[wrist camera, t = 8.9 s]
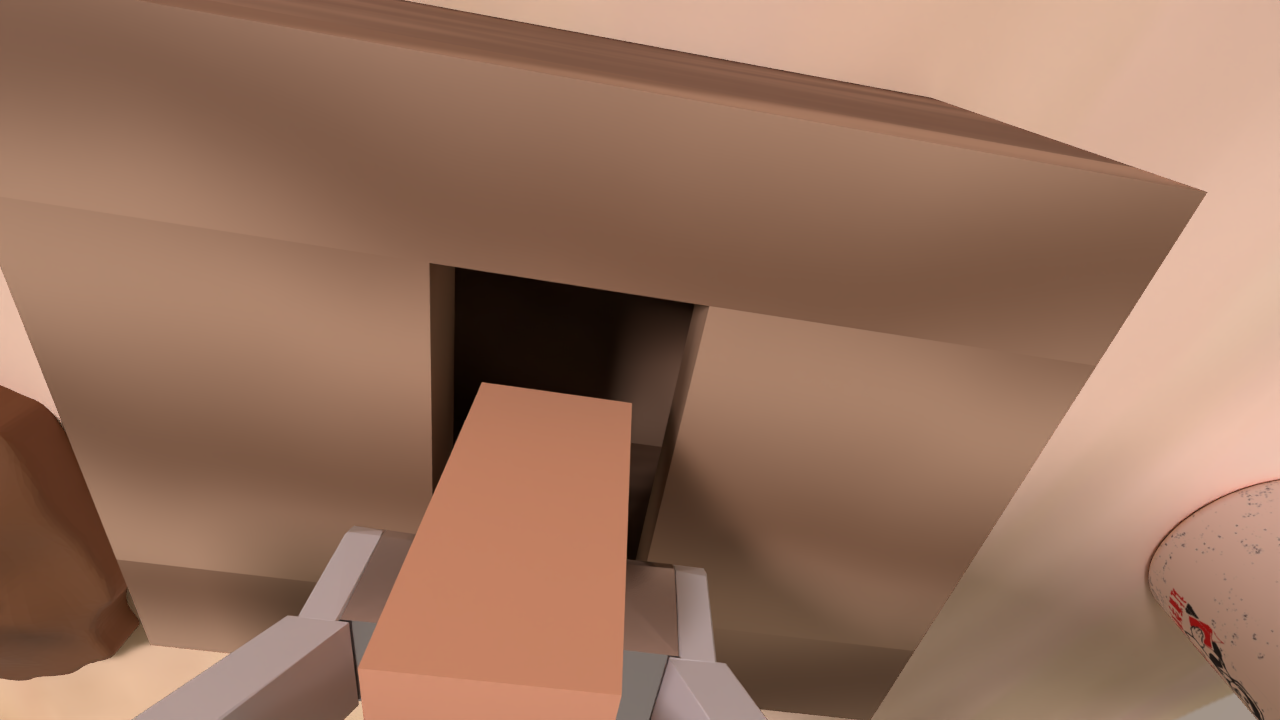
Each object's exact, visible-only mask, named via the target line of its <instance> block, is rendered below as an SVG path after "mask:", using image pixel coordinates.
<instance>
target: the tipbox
mask: <svg viewBox="0 0 1280 720" xmlns="http://www.w3.org/2000/svg"><path fill="white" fill-rule="evenodd" d="M1206 193H1207V192H1205V191H1202V190H1199V189H1196V188H1193V187H1191V186H1188V185H1185V184H1182V183H1179V182H1176V181H1173V180H1170V179H1167V178H1164V177H1161V176H1158V175H1155V174H1153V173H1150V172H1147V171H1144V170H1141V169H1138V168H1135V167H1132V166H1129V165H1126V164H1123V163H1120V162H1117V161H1114V160H1112V159H1109V158H1106V157H1103V156H1100V155H1097V154H1094V153H1091V152H1088V151H1085V150H1082V149H1079V148H1076V147H1074V146H1071V145H1068V144H1065V143H1062V142H1059V141H1056V140H1053V139H1050V138H1047V137H1044V136H1041V135H1038V134H1036V133H1033V132H1030V131H1027V130H1024V129H1021V128H1018V127H1015V126H1012V125H1009V124H1006V123H1003V122H1000V121H998V120H995V119H992V118H989V117H986V116H983V115H980V114H977V113H974V112H971V111H968V110H965V109H962V108H959V107H957V106H954V105H951V104H948V103H945V102H942V101H939V100H936V99H933V98H929V97H924V96H918V95H913V94H907V93H902V92H897V91H891V90H886V89H880V88H875V87H870V86H864V85H859V84H853V83H848V82H843V81H837V80H832V79H826V78H821V77H816V76H810V75H805V74H799V73H794V72H788V71H783V70H778V69H772V68H767V67H761V66H756V65H751V64H745V63H740V62H734V61H729V60H724V59H718V58H713V57H707V56H702V55H697V54H691V53H686V52H680V51H675V50H670V49H664V48H659V47H653V46H648V45H643V44H637V43H632V42H626V41H621V40H616V39H610V38H605V37H599V36H594V35H588V34H583V33H578V32H572V31H567V30H561V29H556V28H551V27H545V26H540V25H534V24H529V23H524V22H518V21H513V20H507V19H502V18H497V17H491V16H486V15H480V14H475V13H470V12H464V11H459V10H453V9H448V8H443V7H437V6H432V5H426V4H421V3H415V2H410V1H405V0H0V267H1V269H2V272H3V274H4V277H5V279H6V282H7V284H8V287H9V290H10V292H11V295H12V297H13V300H14V302H15V305H16V307H17V310H18V312H19V315H20V317H21V320H22V322H23V325H24V327H25V330H26V332H27V335H28V337H29V340H30V343H31V345H32V348H33V350H34V353H35V355H36V358H37V360H38V363H39V365H40V368H41V370H42V373H43V375H44V378H45V380H46V383H47V385H48V388H49V390H50V393H51V396H52V398H53V401H54V403H55V406H56V408H57V411H58V413H59V416H60V418H61V421H62V423H63V426H64V428H65V431H66V433H67V436H68V438H69V441H70V443H71V446H72V449H73V451H74V454H75V456H76V459H77V461H78V464H79V466H80V469H81V471H82V474H83V476H84V479H85V481H86V484H87V486H88V489H89V491H90V494H91V496H92V499H93V502H94V504H95V507H96V509H97V512H98V514H99V517H100V519H101V522H102V524H103V527H104V529H105V532H106V534H107V537H108V539H109V542H110V544H111V547H112V549H113V552H114V555H115V557H116V560H117V562H118V565H119V567H120V570H121V572H122V575H123V577H124V580H125V582H126V585H127V587H128V590H129V592H130V595H131V597H132V600H133V602H134V605H135V608H136V610H137V613H138V615H139V618H140V620H141V623H142V625H143V628H144V630H145V633H146V635H147V638H148V640H149V643H150V645H156V646H165V647H175V648H184V649H194V650H203V651H213V652H222V653H232V652H233V651H235V650H236V649H238V648H239V647H241V646H242V645H244V644H245V643H247V642H248V641H250V640H251V639H253V638H254V637H256V636H257V635H259V634H260V633H262V632H263V631H265V630H266V629H268V628H269V627H271V626H272V625H274V624H275V623H277V622H278V621H280V620H281V619H283V618H284V617H286V616H287V615H289V616H298V615H299V614H300V612H301V610H302V608H303V607H304V605H305V603H306V601H307V600H308V598H309V596H310V594H311V593H312V591H313V589H314V587H315V586H316V584H317V582H318V580H319V579H320V577H321V575H322V573H323V572H324V570H325V568H326V566H327V565H328V563H329V561H330V559H331V558H332V556H333V554H334V552H335V551H336V549H337V547H338V545H339V544H340V542H341V540H342V538H343V537H344V535H345V533H347V532H348V531H349V530H350V529H351V528H352V527H353V526H360V527H367V528H375V529H382V530H391V531H398V532H405V533H412V534H416V533H417V531H418V528H419V526H420V524H421V521H422V519H423V517H424V514H425V512H426V510H427V508H428V505H429V503H430V501H431V498H432V496H433V494H434V491H435V489H436V487H437V485H438V482H439V480H440V478H441V475H442V473H443V471H444V468H445V466H446V464H447V462H448V459H449V457H450V455H451V452H452V450H453V448H454V445H455V443H456V441H457V439H458V436H459V434H460V432H461V429H462V427H463V425H464V422H465V420H466V418H467V416H468V413H469V411H470V409H471V406H472V404H473V402H474V399H475V397H476V395H477V392H478V390H479V388H480V386H481V383H482V382H484V383H491V384H499V385H506V386H513V387H520V388H527V389H535V390H542V391H549V392H556V393H563V394H570V395H578V396H585V397H592V398H599V399H606V400H614V401H621V402H628V403H632V417H631V446H630V474H629V502H628V530H627V558H626V559H629V560H638V561H647V562H657V563H666V564H672V566H673V565H680V566H688V567H697V568H704V570H705V572H706V573H707V580H708V589H709V598H710V607H711V616H712V625H713V634H714V643H715V652H716V661H717V662H720V663H726V664H727V665H728V667H729V668H730V669H731V671H732V672H733V674H734V675H735V676H736V678H737V679H738V680H739V682H740V683H741V684H742V686H743V687H744V689H745V690H746V691H747V693H748V694H749V695H750V697H751V698H752V699H753V701H754V702H755V703H756V705H757V706H758V708H759V709H763V710H772V711H782V712H791V713H801V714H810V715H820V716H829V717H839V718H848V719H858V720H871V718H872V717H873V715H874V713H875V712H876V710H877V709H878V707H879V706H880V704H881V703H882V701H883V699H884V698H885V696H886V695H887V693H888V692H889V690H890V688H891V687H892V685H893V684H894V682H895V681H896V679H897V677H898V676H899V674H900V673H901V671H902V670H903V668H904V666H905V665H906V663H907V662H908V660H909V659H910V657H911V656H912V654H913V652H914V651H915V649H916V648H917V646H918V645H919V643H920V641H921V640H922V638H923V637H924V635H925V634H926V632H927V630H928V629H929V627H930V626H931V624H932V623H933V621H934V619H935V618H936V616H937V615H938V613H939V612H940V610H941V609H942V607H943V605H944V604H945V602H946V601H947V599H948V598H949V596H950V594H951V593H952V591H953V590H954V588H955V587H956V585H957V583H958V582H959V580H960V579H961V577H962V576H963V574H964V572H965V571H966V569H967V568H968V566H969V565H970V563H971V562H972V560H973V558H974V557H975V555H976V554H977V552H978V551H979V549H980V547H981V546H982V544H983V543H984V541H985V540H986V538H987V536H988V535H989V533H990V532H991V530H992V529H993V527H994V526H995V524H996V522H997V521H998V519H999V518H1000V516H1001V515H1002V513H1003V511H1004V510H1005V508H1006V507H1007V505H1008V504H1009V502H1010V500H1011V499H1012V497H1013V496H1014V494H1015V493H1016V491H1017V489H1018V488H1019V486H1020V485H1021V483H1022V482H1023V480H1024V479H1025V477H1026V475H1027V474H1028V472H1029V471H1030V469H1031V468H1032V466H1033V464H1034V463H1035V461H1036V460H1037V458H1038V457H1039V455H1040V453H1041V452H1042V450H1043V449H1044V447H1045V446H1046V444H1047V442H1048V441H1049V439H1050V438H1051V436H1052V435H1053V433H1054V432H1055V430H1056V428H1057V427H1058V425H1059V424H1060V422H1061V421H1062V419H1063V417H1064V416H1065V414H1066V413H1067V411H1068V410H1069V408H1070V406H1071V405H1072V403H1073V402H1074V400H1075V399H1076V397H1077V395H1078V394H1079V392H1080V391H1081V389H1082V388H1083V386H1084V385H1085V383H1086V381H1087V380H1088V378H1089V377H1090V375H1091V374H1092V372H1093V370H1094V369H1095V367H1096V366H1097V364H1098V363H1099V361H1100V359H1101V358H1102V356H1103V355H1104V353H1105V352H1106V350H1107V348H1108V347H1109V345H1110V344H1111V342H1112V341H1113V339H1114V338H1115V336H1116V334H1117V333H1118V331H1119V330H1120V328H1121V327H1122V325H1123V323H1124V322H1125V320H1126V319H1127V317H1128V316H1129V314H1130V312H1131V311H1132V309H1133V308H1134V306H1135V305H1136V303H1137V302H1138V300H1139V298H1140V297H1141V295H1142V294H1143V292H1144V291H1145V289H1146V287H1147V286H1148V284H1149V283H1150V281H1151V280H1152V278H1153V276H1154V275H1155V273H1156V272H1157V270H1158V269H1159V267H1160V265H1161V264H1162V262H1163V261H1164V259H1165V258H1166V256H1167V255H1168V253H1169V251H1170V250H1171V248H1172V247H1173V245H1174V244H1175V242H1176V240H1177V239H1178V237H1179V236H1180V234H1181V233H1182V231H1183V229H1184V228H1185V226H1186V225H1187V223H1188V222H1189V220H1190V218H1191V217H1192V215H1193V214H1194V212H1195V211H1196V209H1197V208H1198V206H1199V204H1200V203H1201V201H1202V200H1203V198H1204V197H1205V195H1206Z"/></svg>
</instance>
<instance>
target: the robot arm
mask: <svg viewBox="0 0 1280 720" xmlns="http://www.w3.org/2000/svg"><path fill="white" fill-rule="evenodd" d="M415 535H416V534H412V533H405V532H398V531H391V530H382V529H375V528H367V527H360V526H353V527H352V528H351V529H350V530H349V531H348V532H347V533H345V535H344V537H343V538H342V540H341V542H340V544H339V545H338V547H337V549H336V551H335V552H334V554H333V556H332V558H331V559H330V561H329V563H328V565H327V566H326V568H325V570H324V572H323V573H322V575H321V577H320V579H319V580H318V582H317V584H316V586H315V587H314V589H313V591H312V593H311V594H310V596H309V598H308V600H307V601H306V603H305V605H304V607H303V608H302V610H301V612H300V614H299V615H298V616H289V615H287V616H286V617H284V618H283V619H281V620H280V621H278V622H277V623H275V624H274V625H272V626H271V627H269V628H268V629H266V630H265V631H263V632H262V633H260V634H259V635H257V636H256V637H254V638H253V639H251V640H250V641H248V642H247V643H245V644H244V645H242V646H241V647H239V648H238V649H236V650H235V651H233V652H232V653H230V654H229V655H228V656H226V657H225V658H223V659H222V660H220V661H219V662H217V663H216V664H214V665H213V666H211V667H210V668H208V669H207V670H205V671H204V672H202V673H201V674H199V675H198V676H196V677H195V678H193V679H192V680H190V681H189V682H187V683H186V684H184V685H183V686H181V687H180V688H178V689H177V690H175V691H174V692H172V693H171V694H169V695H168V696H166V697H165V698H163V699H162V700H160V701H159V702H157V703H156V704H154V705H153V706H151V707H150V708H148V709H147V710H145V711H144V712H142V713H141V714H139V715H138V716H136V717H135V718H133V719H132V720H344V719H345V718H346V717H347V716H348V715H349V714H350V713H351V712H352V711H353V710H354V709H355V708H356V707H357V706H358V705H359V702H358V701H362V700H361V691H360V683H359V675H358V666H359V664H360V662H361V660H362V657H363V655H364V653H365V650H366V648H367V646H368V643H369V641H370V639H371V637H372V634H373V632H374V630H375V627H376V625H377V623H378V620H379V618H380V616H381V613H382V611H383V609H384V607H385V604H386V602H387V600H388V597H389V595H390V593H391V590H392V588H393V586H394V584H395V581H396V579H397V577H398V574H399V572H400V570H401V567H402V565H403V563H404V561H405V558H406V556H407V554H408V551H409V549H410V547H411V544H412V542H413V540H414V538H415ZM616 720H767V718H766V717H765V716H764V714H763V713H762V712H761V710H760V709H759V708H758V706H757V705H756V703H755V702H754V701H753V699H752V698H751V697H750V695H749V694H748V693H747V691H746V690H745V689H744V687H743V686H742V684H741V683H740V682H739V680H738V679H737V678H736V676H735V675H734V674H733V672H732V671H731V669H730V668H729V667H728V665H727V664H726V663H720V662H717V661H716V652H715V643H714V634H713V625H712V616H711V607H710V598H709V589H708V580H707V573H706V572H705V570H704V568H697V567H688V566H680V565H673V566H672V564H666V563H657V562H647V561H638V560H629V559H626V587H625V615H624V643H623V671H622V696H621V700H620V704H619V708H618V712H617V716H616Z"/></svg>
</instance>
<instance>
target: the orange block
mask: <svg viewBox="0 0 1280 720" xmlns="http://www.w3.org/2000/svg"><path fill="white" fill-rule="evenodd" d="M631 417H632V403H628V402H621V401H614V400H606V399H599V398H592V397H585V396H578V395H570V394H563V393H556V392H549V391H542V390H535V389H527V388H520V387H513V386H506V385H499V384H491V383H484V382H482V383H481V386H480V388H479V390H478V392H477V395H476V397H475V399H474V402H473V404H472V406H471V409H470V411H469V413H468V416H467V418H466V420H465V422H464V425H463V427H462V429H461V432H460V434H459V436H458V439H457V441H456V443H455V445H454V448H453V450H452V452H451V455H450V457H449V459H448V462H447V464H446V466H445V468H444V471H443V473H442V475H441V478H440V480H439V482H438V485H437V487H436V489H435V491H434V494H433V496H432V498H431V501H430V503H429V505H428V508H427V510H426V512H425V514H424V517H423V519H422V521H421V524H420V526H419V528H418V531H417V533H416V535H415V538H414V540H413V542H412V544H411V547H410V549H409V551H408V554H407V556H406V558H405V561H404V563H403V565H402V567H401V570H400V572H399V574H398V577H397V579H396V581H395V584H394V586H393V588H392V590H391V593H390V595H389V597H388V600H387V602H386V604H385V607H384V609H383V611H382V613H381V616H380V618H379V620H378V623H377V625H376V627H375V630H374V632H373V634H372V637H371V639H370V641H369V643H368V646H367V648H366V650H365V653H364V655H363V657H362V660H361V662H360V664H359V666H358V675H359V683H360V691H361V700H362V708H363V717H364V720H616V716H617V712H618V708H619V704H620V700H621V696H622V671H623V643H624V615H625V587H626V558H627V530H628V502H629V474H630V446H631Z"/></svg>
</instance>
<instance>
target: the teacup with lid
mask: <svg viewBox="0 0 1280 720" xmlns="http://www.w3.org/2000/svg"><path fill="white" fill-rule="evenodd" d="M1148 578H1149V585H1150V589H1151V592H1152V594H1153V596H1154V598H1155V599H1156V601H1157V602H1158V603H1159V605H1160V606H1161V607H1162V608H1163V609H1164V610H1165V612H1166V613H1167V614H1168V615H1169V616H1170V618H1171V619H1172V620H1173V621H1174V622H1175V623H1176V625H1177V626H1178V627H1179V628H1180V629H1181V630H1182V632H1183V633H1184V634H1185V635H1186V636H1187V638H1188V639H1189V640H1190V641H1191V642H1192V643H1193V645H1194V646H1195V647H1196V648H1197V649H1198V651H1199V652H1200V653H1201V654H1202V655H1203V656H1204V658H1205V659H1206V660H1207V661H1208V662H1209V663H1210V665H1211V666H1212V667H1213V668H1214V669H1215V671H1216V672H1217V673H1218V674H1219V675H1220V676H1221V678H1222V679H1223V680H1224V681H1225V682H1226V684H1227V685H1228V686H1229V687H1230V688H1231V689H1232V691H1233V692H1234V693H1235V694H1236V695H1237V696H1238V698H1239V699H1240V700H1241V701H1242V702H1243V703H1244V705H1245V706H1246V707H1247V708H1248V709H1249V711H1250V712H1251V713H1252V714H1253V715H1254V717H1255V718H1256V719H1257V720H1280V480H1277V481H1272V482H1267V483H1263V484H1259V485H1255V486H1252V487H1248V488H1245V489H1242V490H1239V491H1237V492H1234V493H1232V494H1229V495H1227V496H1225V497H1222V498H1220V499H1218V500H1216V501H1214V502H1212V503H1210V504H1208V505H1207V506H1205V507H1203V508H1202V509H1200V510H1198V511H1197V512H1195V513H1194V514H1192V515H1191V516H1190V517H1188V518H1187V519H1186V520H1184V521H1183V522H1182V523H1181V524H1179V525H1178V526H1177V527H1176V528H1175V529H1174V530H1173V531H1172V532H1171V533H1170V534H1169V535H1168V536H1167V537H1166V538H1165V540H1164V541H1163V542H1162V543H1161V545H1160V546H1159V548H1158V549H1157V551H1156V553H1155V555H1154V556H1153V559H1152V561H1151V564H1150V568H1149V577H1148Z"/></svg>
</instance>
